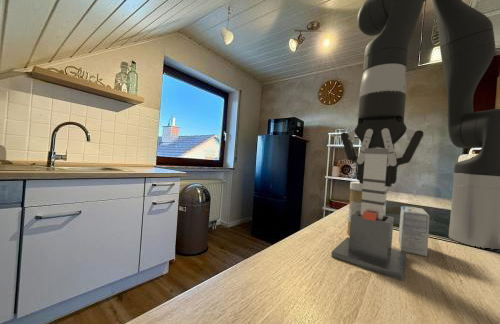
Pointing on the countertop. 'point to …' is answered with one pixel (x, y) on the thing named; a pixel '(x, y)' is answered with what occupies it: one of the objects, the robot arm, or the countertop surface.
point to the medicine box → (413, 230)
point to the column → (375, 182)
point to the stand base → (372, 245)
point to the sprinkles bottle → (354, 201)
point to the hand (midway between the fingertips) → (375, 184)
